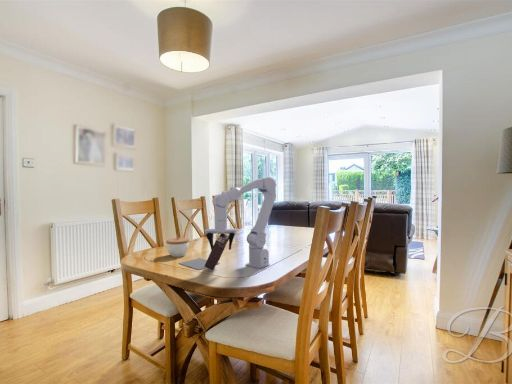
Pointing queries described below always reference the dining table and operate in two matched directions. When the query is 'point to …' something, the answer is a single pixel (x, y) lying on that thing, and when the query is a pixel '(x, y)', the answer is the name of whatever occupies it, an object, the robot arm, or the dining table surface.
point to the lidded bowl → (177, 246)
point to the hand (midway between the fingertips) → (221, 249)
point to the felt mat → (195, 263)
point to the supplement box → (216, 252)
